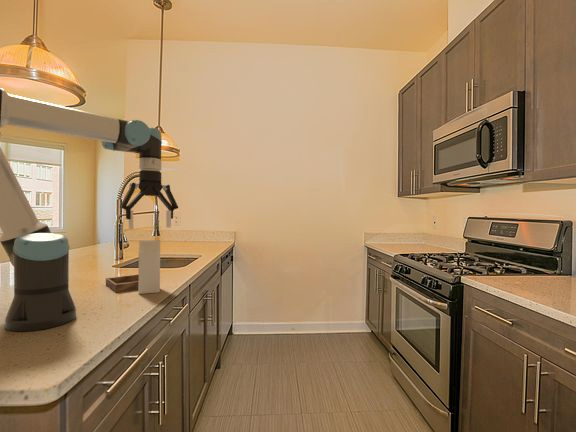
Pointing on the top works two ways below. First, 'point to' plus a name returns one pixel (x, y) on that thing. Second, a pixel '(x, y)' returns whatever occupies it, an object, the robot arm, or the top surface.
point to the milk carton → (149, 267)
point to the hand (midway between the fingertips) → (150, 228)
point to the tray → (123, 283)
